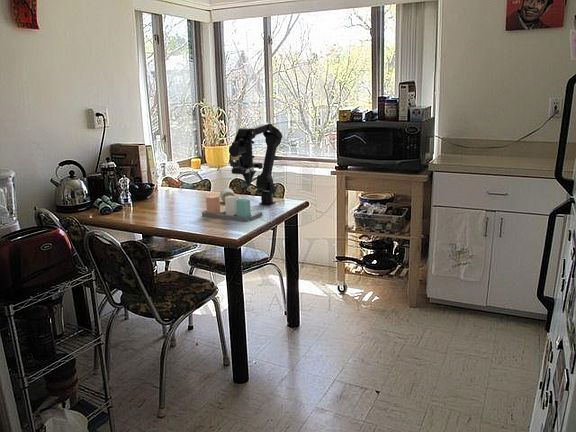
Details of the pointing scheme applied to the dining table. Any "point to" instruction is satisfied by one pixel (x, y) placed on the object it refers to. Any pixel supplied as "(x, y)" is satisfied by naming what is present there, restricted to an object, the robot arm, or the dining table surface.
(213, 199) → the pink upright block
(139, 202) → the dining table surface
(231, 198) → the white rectangular block
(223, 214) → the grey tray
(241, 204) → the teal block
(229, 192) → the ceramic mug
